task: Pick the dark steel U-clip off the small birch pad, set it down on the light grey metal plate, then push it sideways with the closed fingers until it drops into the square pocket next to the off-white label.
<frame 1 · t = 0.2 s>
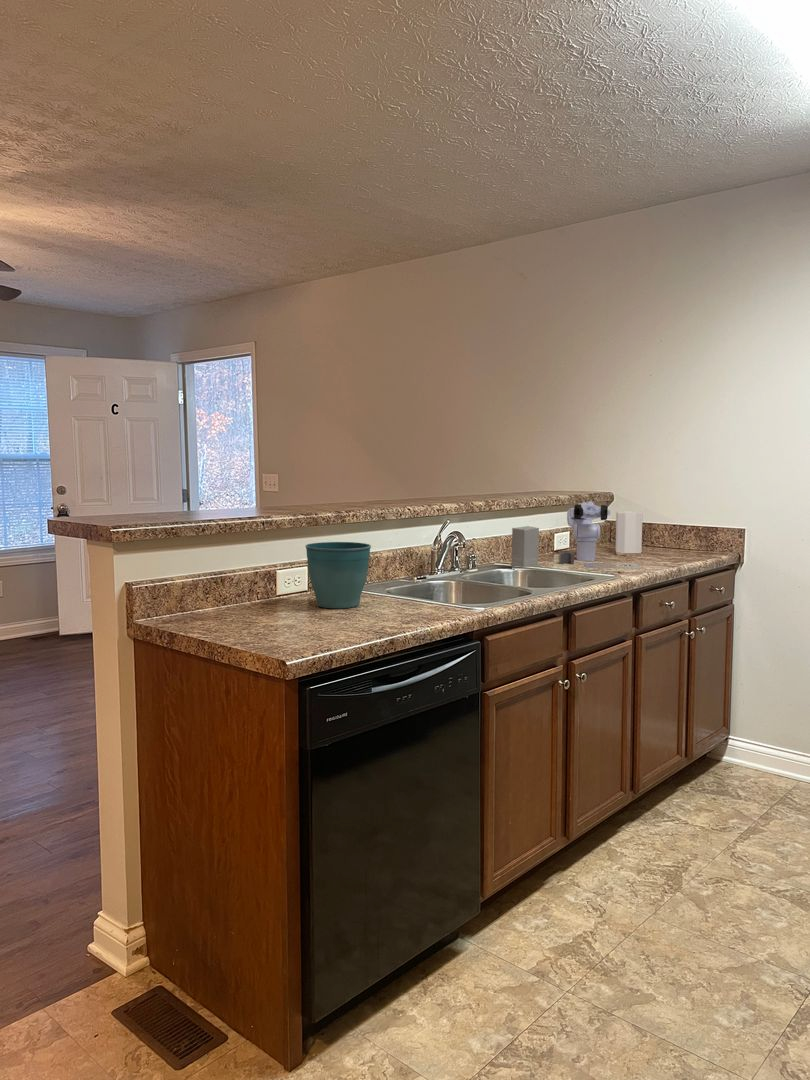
hand: (593, 512, 295), 21 cm above the worktop, tool horizontal, fingers open, 7 cm apart
rail board: (611, 569, 298), on the worktop
clip: (566, 563, 304), point 1 cm above the worktop, touching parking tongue
skincare box: (524, 570, 298), on the worktop
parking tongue: (566, 567, 304), on the worktop
white upright block: (628, 555, 345), on the worktop
flower pot: (338, 606, 224), on the worktop
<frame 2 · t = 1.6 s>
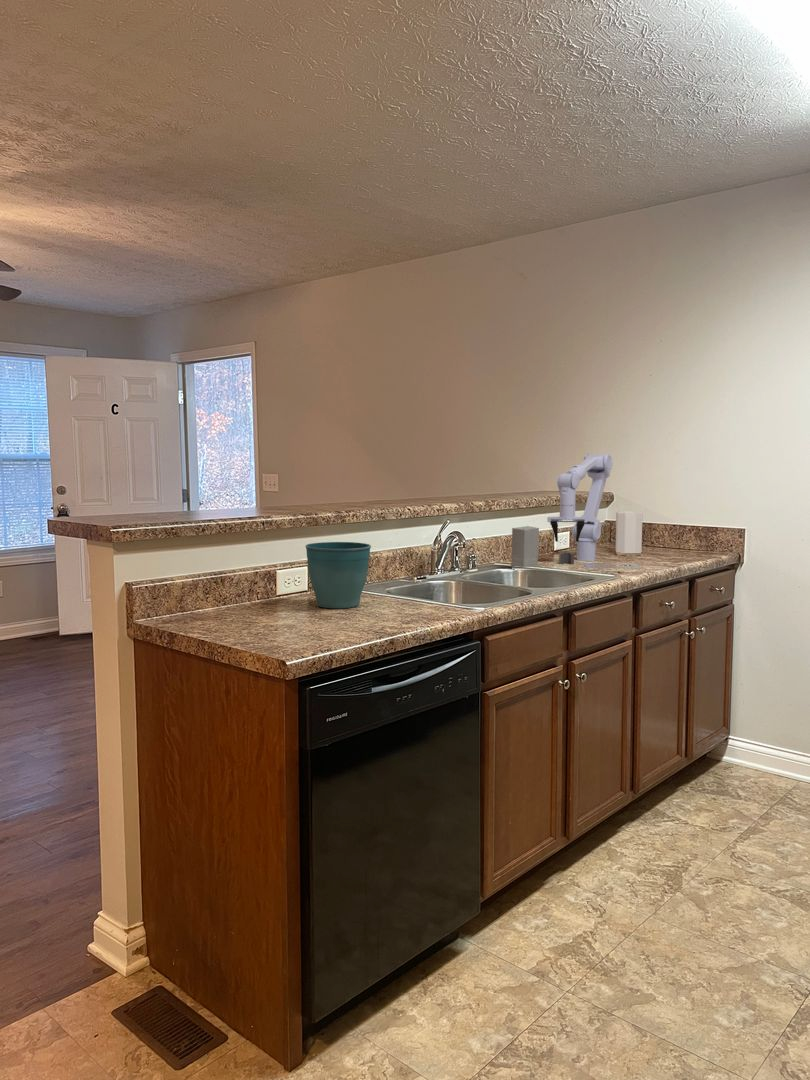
hand: (566, 541, 303), 10 cm above the worktop, tool pointing down, fingers open, 7 cm apart
nothing on the worktop moved.
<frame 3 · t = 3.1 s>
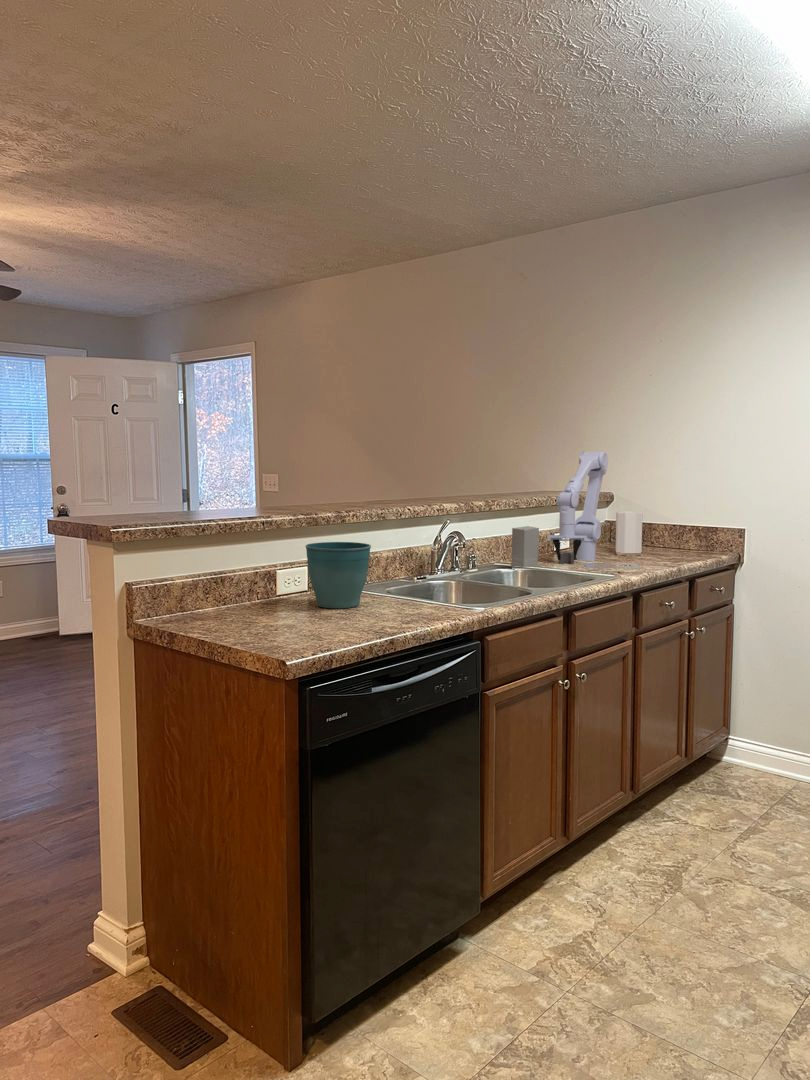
hand: (566, 559, 304), 3 cm above the worktop, tool pointing down, fingers closed on clip, 5 cm apart
clip: (566, 563, 304), point 2 cm above the worktop, touching gripper, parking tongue
everything else where it was.
when the fingers open (4 cm above the worktop, at t = 6.9 s): clip stays where it is, resting on rail board.
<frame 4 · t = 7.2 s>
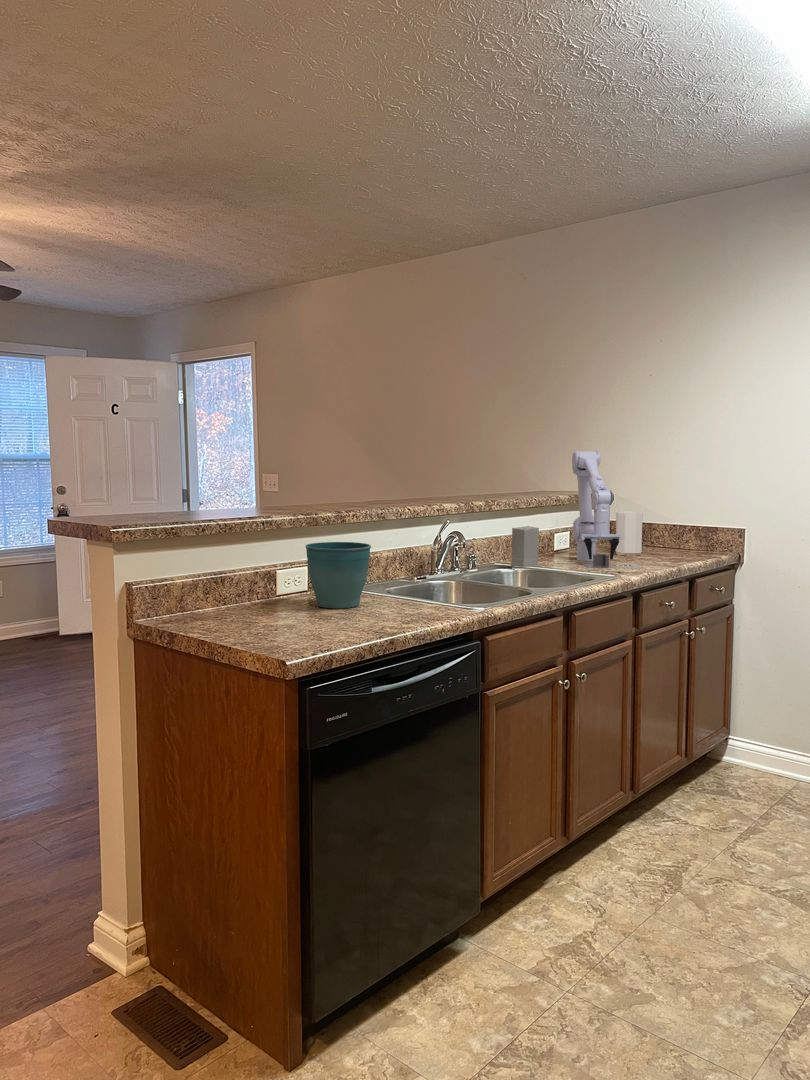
hand: (600, 559, 298), 4 cm above the worktop, tool pointing down, fingers open, 7 cm apart
clip: (600, 565, 298), point 1 cm above the worktop, touching rail board
everything else where it was.
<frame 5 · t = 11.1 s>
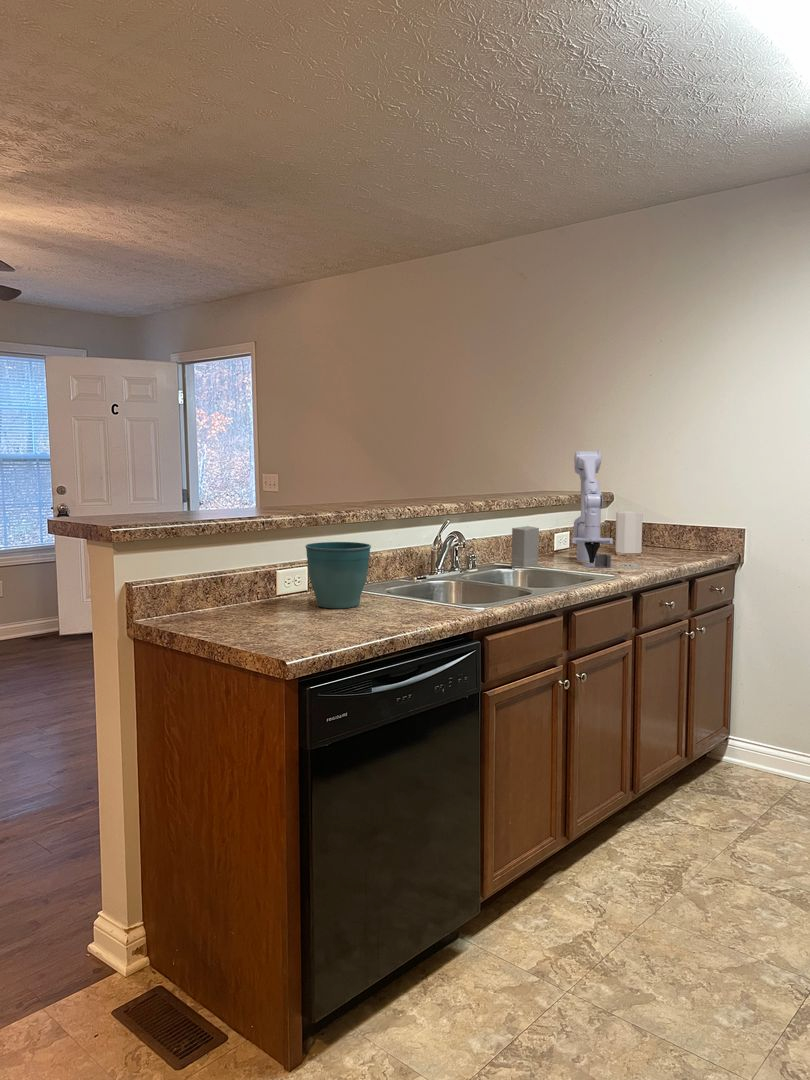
hand: (591, 562, 298), 3 cm above the worktop, tool pointing down, fingers closed
clip: (602, 565, 298), point 2 cm above the worktop, touching gripper
everything else where it was.
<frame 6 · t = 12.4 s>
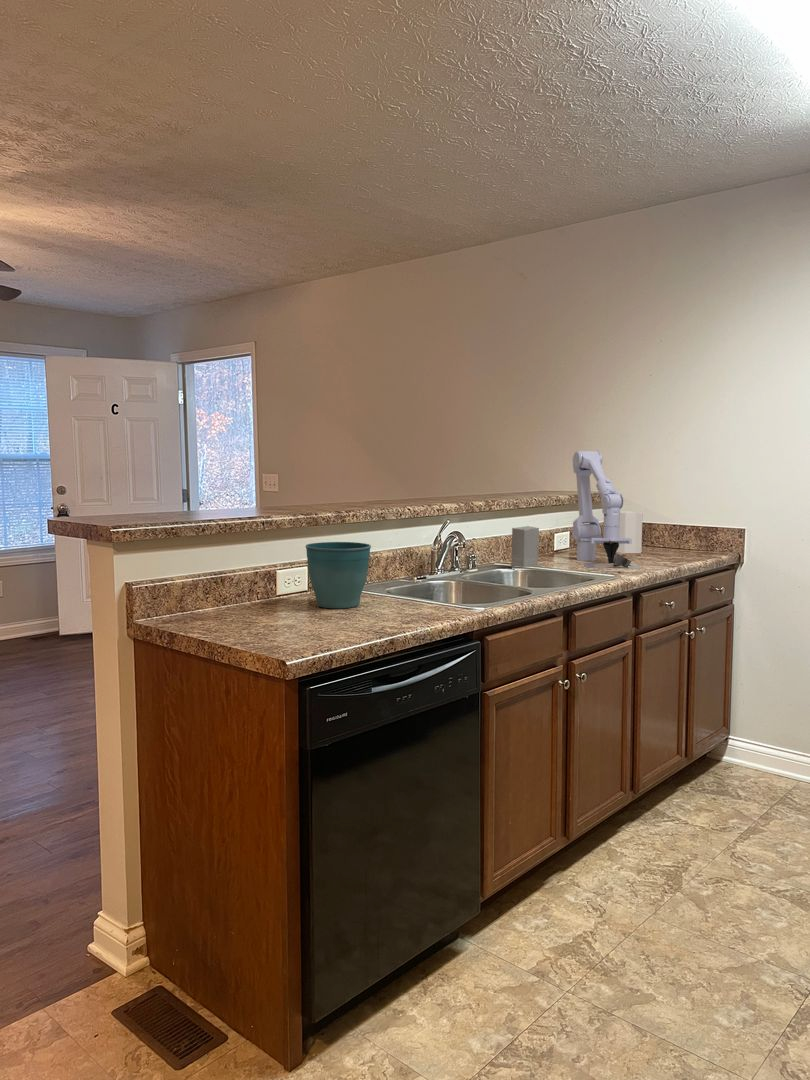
hand: (610, 563, 297), 3 cm above the worktop, tool pointing down, fingers closed
clip: (618, 566, 297), point 1 cm above the worktop, tilted 31°, touching gripper
everything else where it was.
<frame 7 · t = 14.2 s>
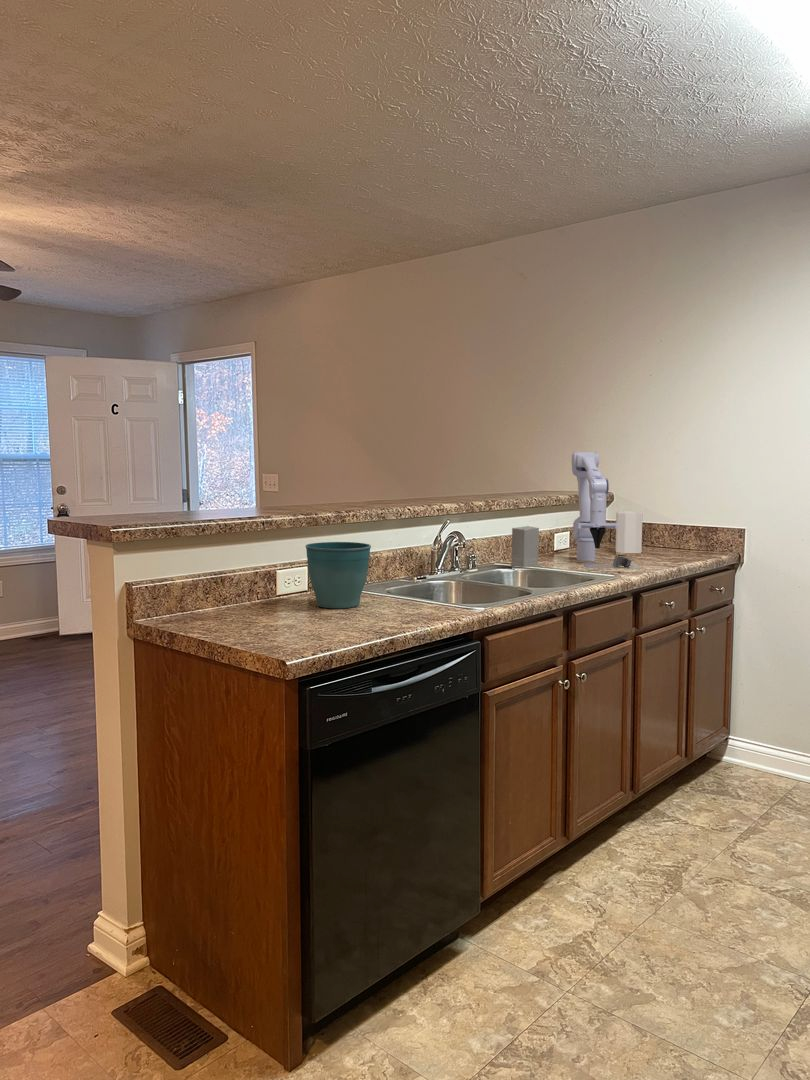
hand: (597, 548, 297), 8 cm above the worktop, tool pointing down, fingers closed
clip: (620, 567, 297), point 1 cm above the worktop, tilted 18°, touching rail board
everything else where it was.
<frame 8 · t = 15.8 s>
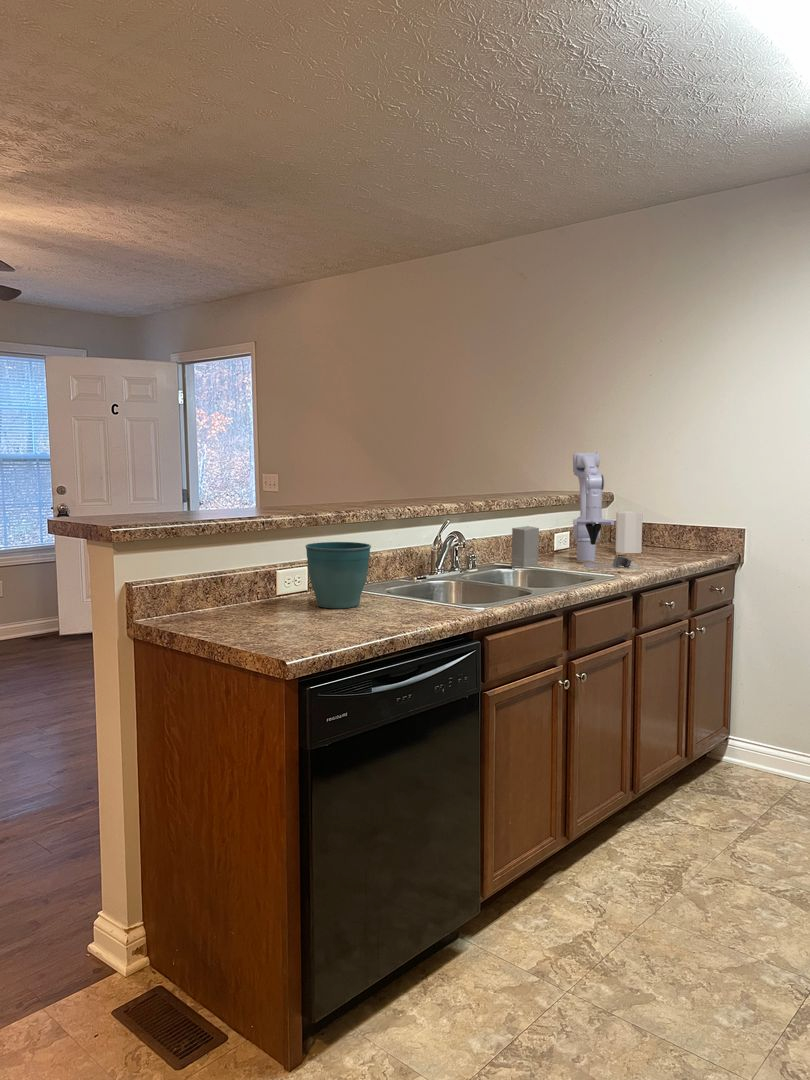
hand: (593, 544, 297), 9 cm above the worktop, tool pointing down, fingers closed
nothing on the worktop moved.
at the end: clip 1.0 cm from the target spot on the rail board, point 0.8 cm above the rail board's base; the gripper is holding nothing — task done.
